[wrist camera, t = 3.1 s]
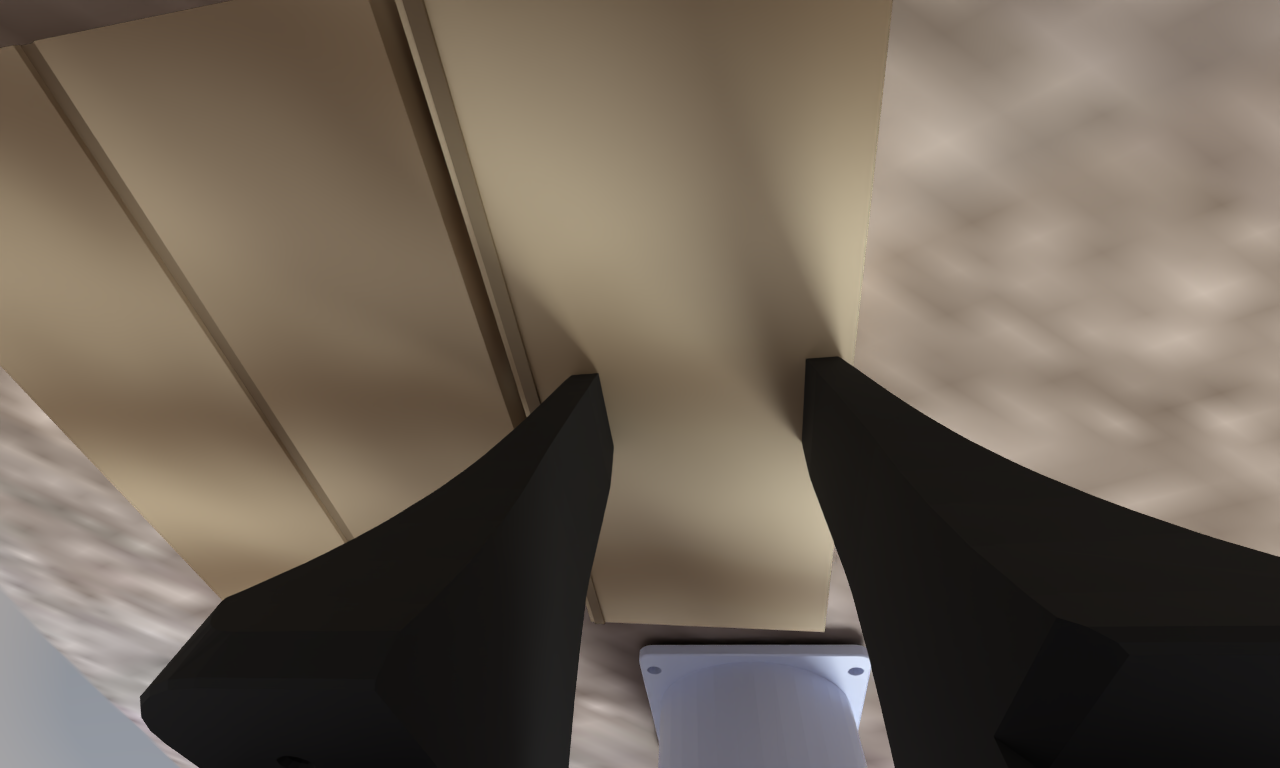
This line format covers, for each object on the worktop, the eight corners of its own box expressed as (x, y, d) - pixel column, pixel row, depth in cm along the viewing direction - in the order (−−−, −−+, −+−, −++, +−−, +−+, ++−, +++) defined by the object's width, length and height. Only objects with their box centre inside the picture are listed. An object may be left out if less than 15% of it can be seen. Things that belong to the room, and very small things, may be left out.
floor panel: (585, 588, 16) (578, 621, 15) (269, 593, 18) (245, 624, 17) (400, -13, 8) (359, -27, 7) (-154, 96, 10) (-252, 99, 9)
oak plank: (817, 594, 15) (825, 634, 14) (598, 588, 16) (590, 623, 15) (880, -117, 7) (910, -151, 6) (426, -19, 8) (382, -33, 7)
